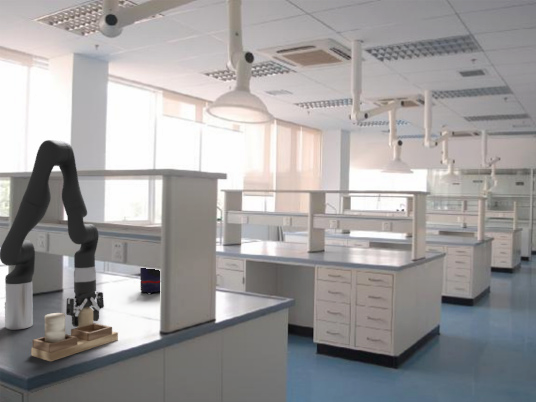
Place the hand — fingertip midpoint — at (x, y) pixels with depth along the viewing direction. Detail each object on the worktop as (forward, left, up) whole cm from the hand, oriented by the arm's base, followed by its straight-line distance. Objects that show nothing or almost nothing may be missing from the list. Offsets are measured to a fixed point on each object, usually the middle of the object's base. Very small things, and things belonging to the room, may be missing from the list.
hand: (85, 323), depth 179 cm
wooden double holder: (+10, -11, -4) cm, 15 cm away
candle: (0, 0, -4) cm, 4 cm away
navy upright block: (-35, +67, -4) cm, 76 cm away
